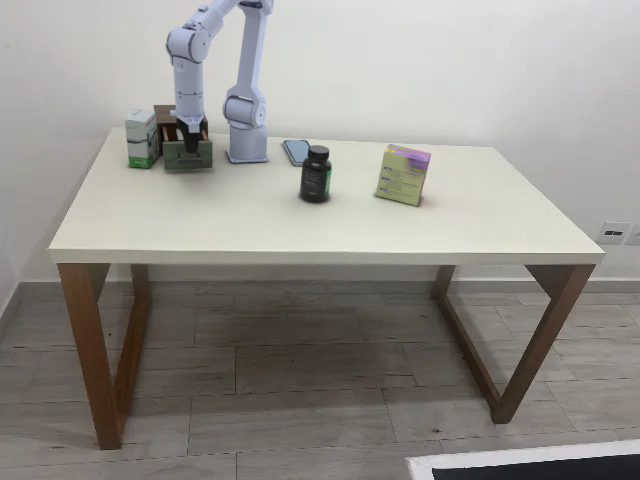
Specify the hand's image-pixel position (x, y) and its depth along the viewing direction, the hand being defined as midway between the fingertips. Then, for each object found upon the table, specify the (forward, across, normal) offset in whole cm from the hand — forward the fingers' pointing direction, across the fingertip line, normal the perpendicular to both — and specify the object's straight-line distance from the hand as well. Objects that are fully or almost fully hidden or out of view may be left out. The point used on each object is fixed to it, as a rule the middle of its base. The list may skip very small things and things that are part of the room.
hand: (191, 151), depth 110 cm
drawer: (+8, -12, 0) cm, 15 cm away
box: (+9, +11, +48) cm, 50 cm away
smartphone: (+9, -16, +31) cm, 36 cm away
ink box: (+9, -16, -10) cm, 21 cm away
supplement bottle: (+9, +8, +27) cm, 30 cm away
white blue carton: (+7, -14, 0) cm, 16 cm away
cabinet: (+9, -26, 0) cm, 27 cm away
